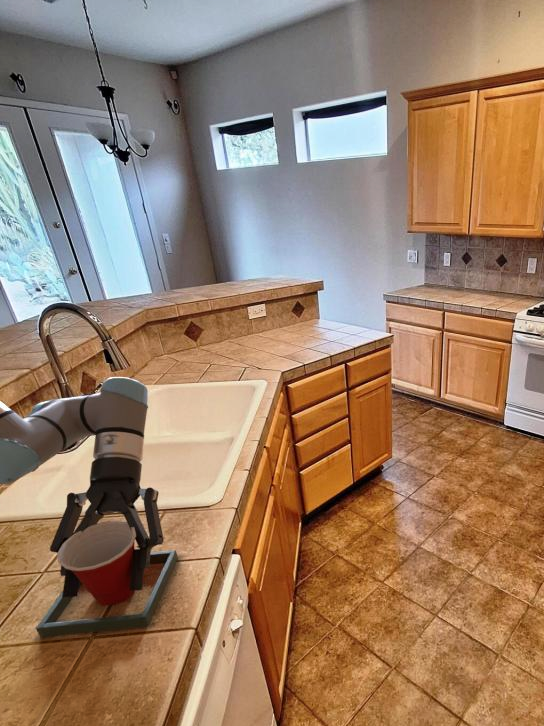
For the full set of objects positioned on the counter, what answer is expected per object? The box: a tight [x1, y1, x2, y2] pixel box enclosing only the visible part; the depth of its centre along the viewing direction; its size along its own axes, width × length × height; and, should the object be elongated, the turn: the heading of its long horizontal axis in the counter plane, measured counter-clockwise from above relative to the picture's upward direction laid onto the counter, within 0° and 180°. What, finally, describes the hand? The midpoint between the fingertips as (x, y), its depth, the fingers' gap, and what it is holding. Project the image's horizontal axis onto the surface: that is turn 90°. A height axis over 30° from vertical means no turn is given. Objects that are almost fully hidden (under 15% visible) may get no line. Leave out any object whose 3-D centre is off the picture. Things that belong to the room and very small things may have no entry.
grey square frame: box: [35, 549, 179, 638], centre depth 74 cm, size 16×16×3 cm
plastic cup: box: [56, 520, 136, 607], centre depth 72 cm, size 11×11×12 cm
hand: (103, 593), depth 70 cm, fingers closed on plastic cup, 9 cm apart
